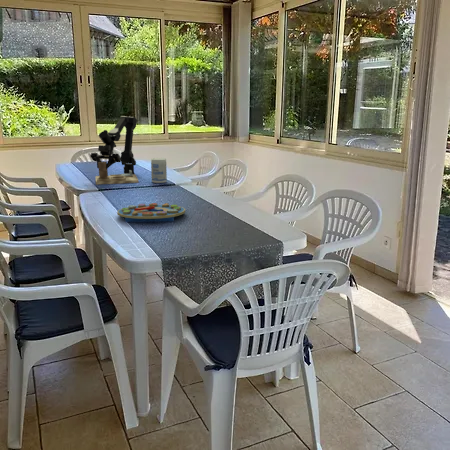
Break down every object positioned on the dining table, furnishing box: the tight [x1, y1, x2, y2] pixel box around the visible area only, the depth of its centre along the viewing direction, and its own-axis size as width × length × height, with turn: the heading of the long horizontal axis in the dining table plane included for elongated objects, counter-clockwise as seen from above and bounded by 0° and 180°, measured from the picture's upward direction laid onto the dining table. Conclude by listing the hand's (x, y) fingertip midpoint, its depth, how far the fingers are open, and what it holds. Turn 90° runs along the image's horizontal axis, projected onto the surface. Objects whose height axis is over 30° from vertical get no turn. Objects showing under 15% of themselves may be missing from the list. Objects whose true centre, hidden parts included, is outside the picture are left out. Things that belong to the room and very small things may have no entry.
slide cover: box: [120, 170, 134, 176], centre depth 292 cm, size 7×7×3 cm
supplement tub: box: [150, 157, 168, 184], centre depth 279 cm, size 10×10×15 cm
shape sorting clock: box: [116, 202, 186, 223], centre depth 201 cm, size 31×30×6 cm
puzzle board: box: [95, 173, 139, 186], centre depth 285 cm, size 26×22×3 cm
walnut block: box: [98, 160, 109, 178], centre depth 276 cm, size 4×4×10 cm
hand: (102, 168), depth 275 cm, fingers closed on walnut block, 5 cm apart
